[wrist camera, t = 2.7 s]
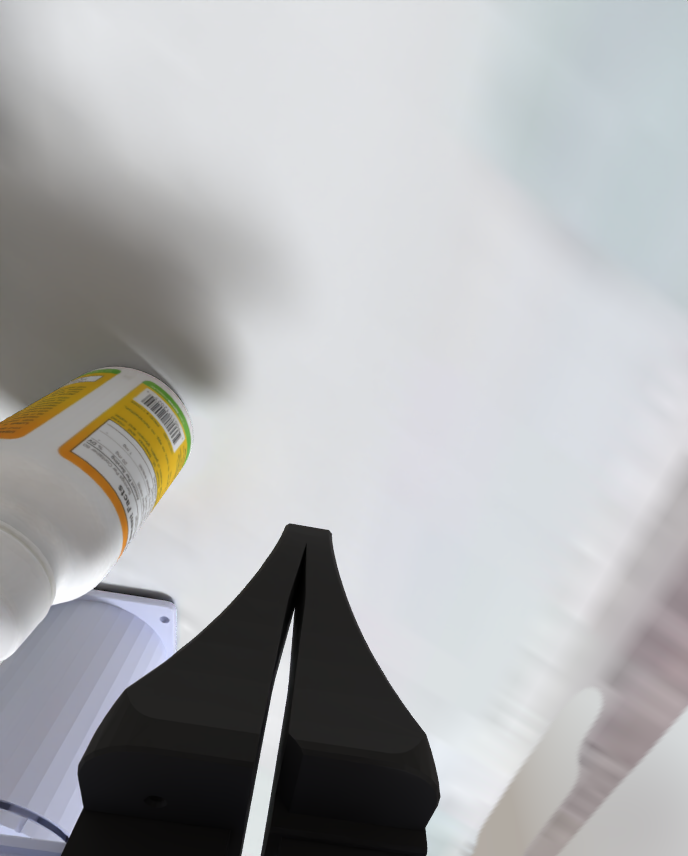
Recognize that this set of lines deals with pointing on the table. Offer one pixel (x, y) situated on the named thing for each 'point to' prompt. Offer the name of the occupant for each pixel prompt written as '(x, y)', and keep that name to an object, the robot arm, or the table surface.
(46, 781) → the robot arm
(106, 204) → the table surface
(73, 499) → the supplement bottle
